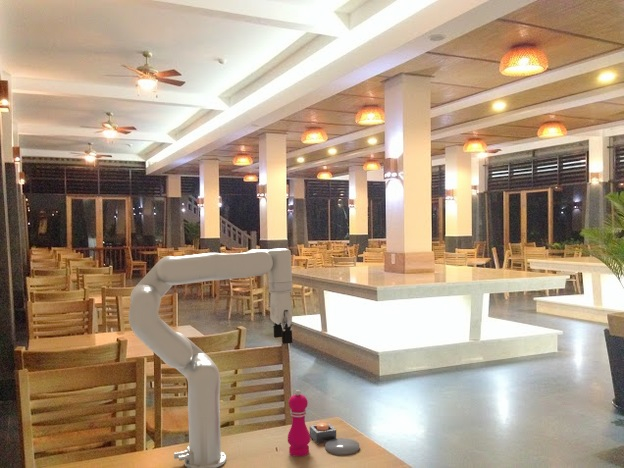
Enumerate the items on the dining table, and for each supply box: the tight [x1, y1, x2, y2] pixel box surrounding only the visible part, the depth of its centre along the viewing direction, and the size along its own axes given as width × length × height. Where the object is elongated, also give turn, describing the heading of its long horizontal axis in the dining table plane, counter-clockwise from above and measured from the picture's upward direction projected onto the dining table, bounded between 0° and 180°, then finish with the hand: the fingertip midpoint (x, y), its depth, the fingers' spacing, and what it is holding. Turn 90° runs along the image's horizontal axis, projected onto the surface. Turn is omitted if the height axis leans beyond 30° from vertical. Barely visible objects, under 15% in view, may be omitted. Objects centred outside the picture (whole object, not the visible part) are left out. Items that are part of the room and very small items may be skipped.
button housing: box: [309, 422, 337, 444], centre depth 191 cm, size 7×7×4 cm
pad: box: [324, 437, 360, 456], centre depth 183 cm, size 11×11×1 cm
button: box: [316, 422, 329, 431], centre depth 191 cm, size 4×4×2 cm
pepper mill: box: [287, 389, 311, 457], centre depth 180 cm, size 7×7×20 cm
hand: (282, 340), depth 182 cm, fingers open, 9 cm apart
